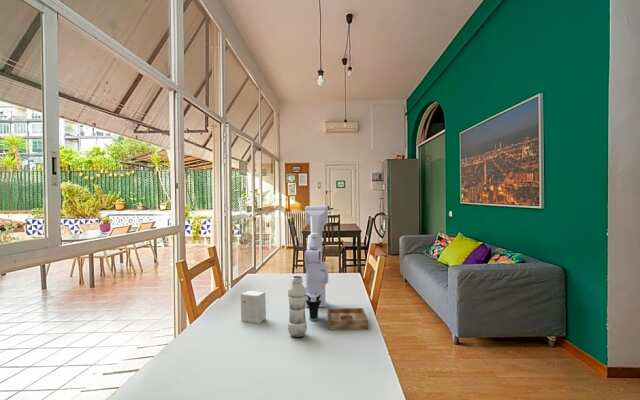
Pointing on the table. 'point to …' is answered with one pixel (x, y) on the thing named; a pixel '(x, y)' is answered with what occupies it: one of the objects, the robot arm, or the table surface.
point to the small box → (253, 306)
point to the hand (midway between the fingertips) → (313, 315)
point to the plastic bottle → (297, 308)
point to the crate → (347, 318)
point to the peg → (313, 319)
